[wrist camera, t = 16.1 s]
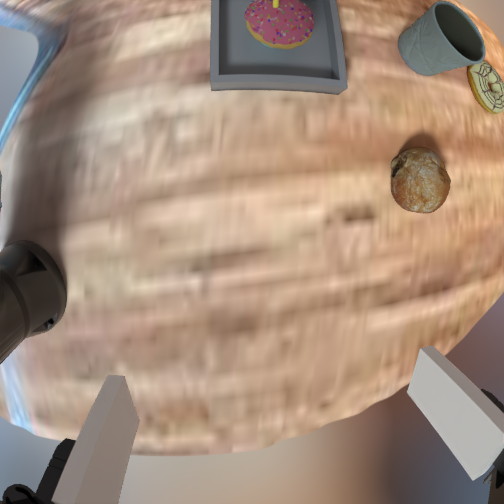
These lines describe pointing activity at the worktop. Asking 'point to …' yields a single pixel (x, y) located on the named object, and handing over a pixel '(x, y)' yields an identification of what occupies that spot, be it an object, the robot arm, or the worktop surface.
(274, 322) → the worktop surface
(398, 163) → the bread roll
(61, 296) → the robot arm
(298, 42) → the cupcake
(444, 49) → the grey cup
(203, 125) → the worktop surface
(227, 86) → the serving tray
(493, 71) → the decorated donut
